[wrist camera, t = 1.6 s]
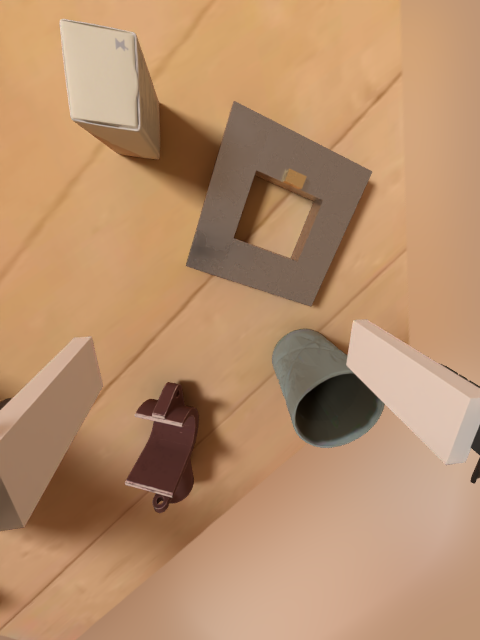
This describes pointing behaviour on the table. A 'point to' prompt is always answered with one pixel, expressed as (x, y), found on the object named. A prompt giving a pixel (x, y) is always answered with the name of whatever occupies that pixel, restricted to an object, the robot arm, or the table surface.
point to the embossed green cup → (323, 390)
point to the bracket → (166, 448)
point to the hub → (287, 172)
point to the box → (111, 88)
